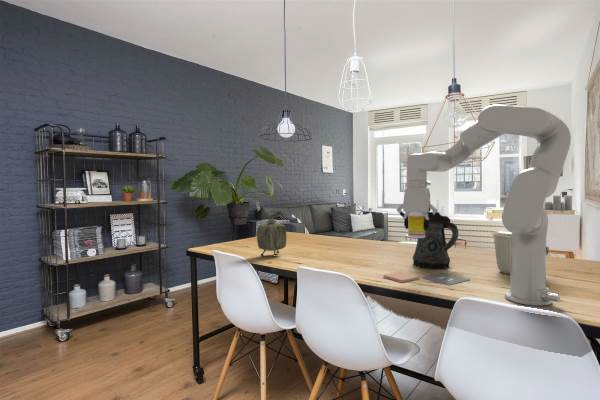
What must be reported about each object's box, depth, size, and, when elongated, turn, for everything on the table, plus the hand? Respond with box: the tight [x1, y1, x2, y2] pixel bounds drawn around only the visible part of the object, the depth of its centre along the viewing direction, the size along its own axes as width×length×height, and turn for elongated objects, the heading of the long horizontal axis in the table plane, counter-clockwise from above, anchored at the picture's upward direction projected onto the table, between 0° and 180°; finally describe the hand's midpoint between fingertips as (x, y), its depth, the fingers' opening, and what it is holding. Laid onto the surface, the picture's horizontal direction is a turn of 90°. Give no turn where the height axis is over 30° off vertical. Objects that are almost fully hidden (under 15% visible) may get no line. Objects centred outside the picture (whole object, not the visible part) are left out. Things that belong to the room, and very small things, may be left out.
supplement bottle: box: [407, 211, 425, 239], centre depth 141 cm, size 7×7×13 cm
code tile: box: [420, 272, 471, 286], centre depth 140 cm, size 13×13×1 cm
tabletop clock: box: [256, 210, 287, 257], centre depth 193 cm, size 14×9×25 cm, turn 130°
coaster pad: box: [382, 271, 421, 283], centre depth 143 cm, size 10×10×1 cm
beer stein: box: [412, 211, 459, 270], centre depth 164 cm, size 16×19×25 cm
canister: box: [491, 228, 512, 275], centre depth 147 cm, size 18×18×21 cm
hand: (416, 228), depth 141 cm, fingers closed on supplement bottle, 6 cm apart
